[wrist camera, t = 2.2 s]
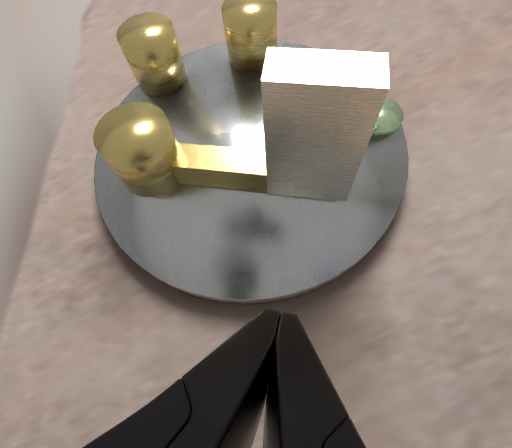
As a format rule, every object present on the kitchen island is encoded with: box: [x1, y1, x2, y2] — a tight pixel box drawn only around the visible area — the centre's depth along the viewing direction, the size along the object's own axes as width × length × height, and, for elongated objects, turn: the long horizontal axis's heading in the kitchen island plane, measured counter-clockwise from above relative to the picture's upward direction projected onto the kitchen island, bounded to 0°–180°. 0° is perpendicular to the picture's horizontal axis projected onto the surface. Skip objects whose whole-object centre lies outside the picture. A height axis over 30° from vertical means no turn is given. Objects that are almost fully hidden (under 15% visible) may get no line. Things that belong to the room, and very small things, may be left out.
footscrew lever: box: [93, 47, 389, 201], centre depth 18 cm, size 15×4×9 cm, turn 81°
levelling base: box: [94, 0, 408, 304], centre depth 22 cm, size 22×22×5 cm
